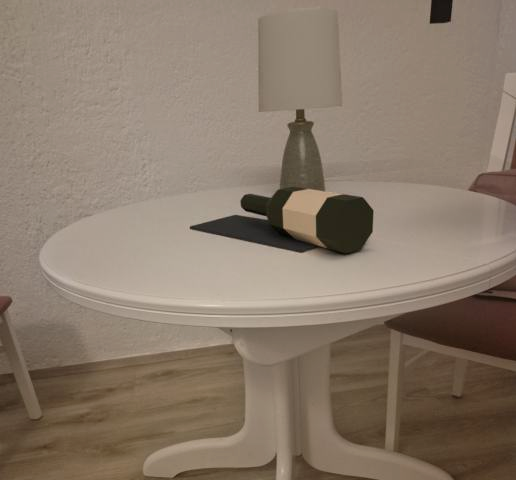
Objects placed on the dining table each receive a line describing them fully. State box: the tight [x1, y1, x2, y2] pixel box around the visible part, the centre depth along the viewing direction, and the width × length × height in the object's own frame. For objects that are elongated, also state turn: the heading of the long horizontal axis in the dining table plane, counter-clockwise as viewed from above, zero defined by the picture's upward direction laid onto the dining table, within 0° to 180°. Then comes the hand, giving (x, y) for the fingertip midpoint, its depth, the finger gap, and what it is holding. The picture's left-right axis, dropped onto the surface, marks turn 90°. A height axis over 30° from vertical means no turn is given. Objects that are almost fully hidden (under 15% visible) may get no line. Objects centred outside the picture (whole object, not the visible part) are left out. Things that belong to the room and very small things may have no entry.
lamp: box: [257, 7, 343, 192], centre depth 108 cm, size 19×19×37 cm
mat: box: [189, 214, 320, 253], centre depth 89 cm, size 30×12×1 cm, turn 43°
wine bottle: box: [239, 187, 374, 254], centre depth 82 cm, size 8×8×30 cm
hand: (440, 22), depth 73 cm, fingers closed
